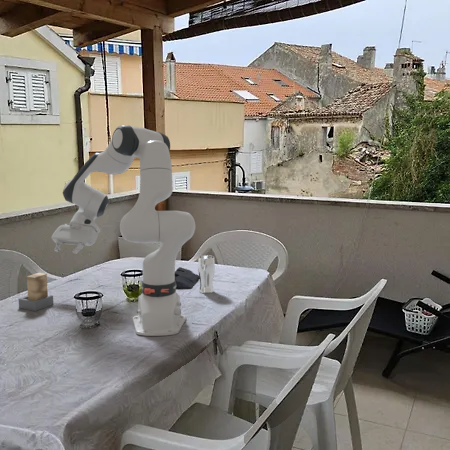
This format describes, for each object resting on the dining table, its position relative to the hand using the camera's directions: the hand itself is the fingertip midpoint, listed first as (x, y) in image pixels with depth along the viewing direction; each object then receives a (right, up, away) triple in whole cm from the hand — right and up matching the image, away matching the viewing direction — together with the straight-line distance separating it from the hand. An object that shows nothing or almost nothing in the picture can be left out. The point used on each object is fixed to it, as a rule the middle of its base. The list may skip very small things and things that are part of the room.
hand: (65, 251), depth 203 cm
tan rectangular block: (-7, -20, -9) cm, 23 cm away
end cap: (-8, -20, -10) cm, 24 cm away
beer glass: (+57, -17, +10) cm, 60 cm away
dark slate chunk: (+44, -15, +24) cm, 53 cm away
